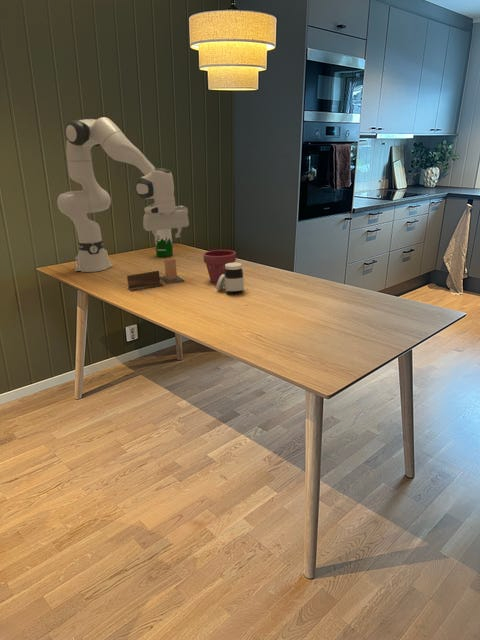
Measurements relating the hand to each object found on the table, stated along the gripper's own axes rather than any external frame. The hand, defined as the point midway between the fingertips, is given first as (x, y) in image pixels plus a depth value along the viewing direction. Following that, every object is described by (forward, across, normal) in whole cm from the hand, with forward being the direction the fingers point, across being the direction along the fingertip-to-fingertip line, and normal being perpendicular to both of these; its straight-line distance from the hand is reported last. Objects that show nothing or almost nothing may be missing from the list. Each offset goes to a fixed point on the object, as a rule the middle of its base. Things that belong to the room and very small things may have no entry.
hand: (167, 238), depth 210 cm
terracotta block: (+18, 0, +1) cm, 18 cm away
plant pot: (+19, -18, +16) cm, 30 cm away
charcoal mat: (+19, 0, +1) cm, 19 cm away
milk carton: (+20, -14, -48) cm, 54 cm away
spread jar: (+18, -14, +33) cm, 40 cm away
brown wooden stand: (+19, +14, +6) cm, 24 cm away
